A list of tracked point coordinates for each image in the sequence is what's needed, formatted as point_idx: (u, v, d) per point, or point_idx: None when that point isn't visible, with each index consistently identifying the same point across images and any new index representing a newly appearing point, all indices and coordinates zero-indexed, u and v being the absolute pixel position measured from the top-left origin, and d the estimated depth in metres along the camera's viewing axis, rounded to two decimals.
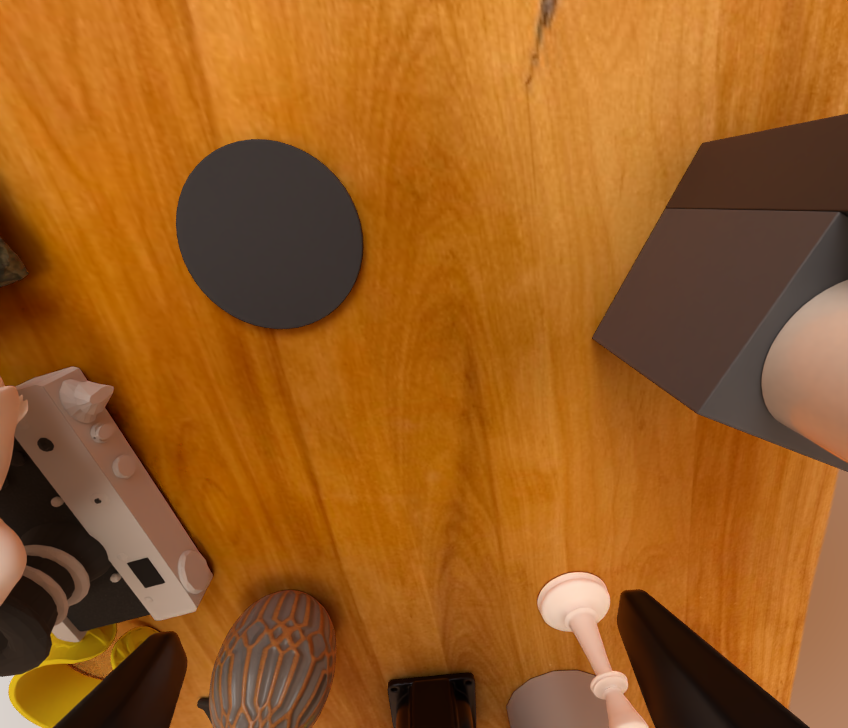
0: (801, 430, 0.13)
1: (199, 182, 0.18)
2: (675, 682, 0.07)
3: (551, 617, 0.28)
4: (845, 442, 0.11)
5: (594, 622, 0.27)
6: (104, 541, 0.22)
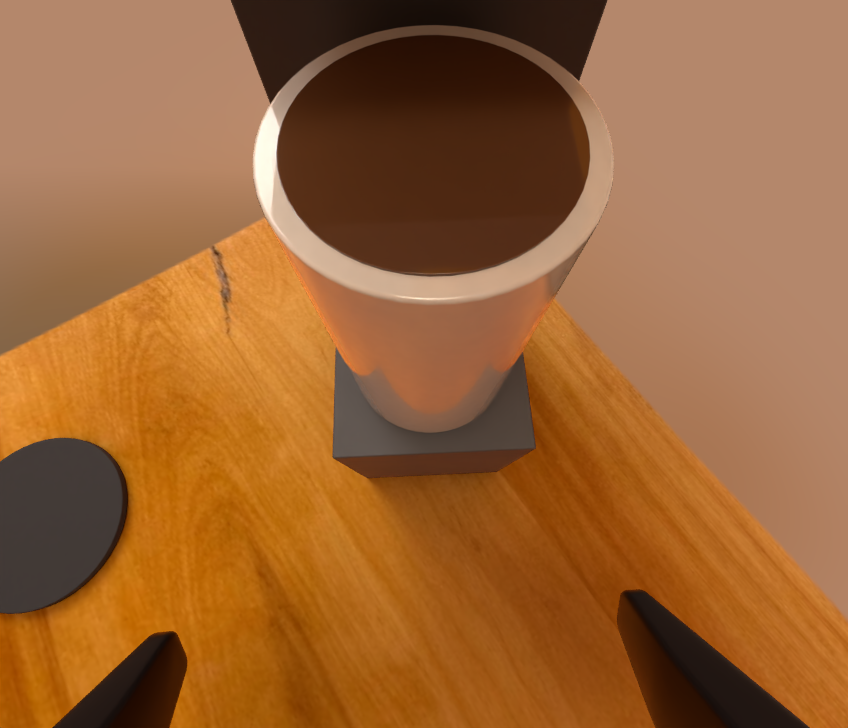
0: (396, 419, 0.13)
1: None
2: (675, 682, 0.07)
3: None
4: (371, 396, 0.12)
5: None
6: None
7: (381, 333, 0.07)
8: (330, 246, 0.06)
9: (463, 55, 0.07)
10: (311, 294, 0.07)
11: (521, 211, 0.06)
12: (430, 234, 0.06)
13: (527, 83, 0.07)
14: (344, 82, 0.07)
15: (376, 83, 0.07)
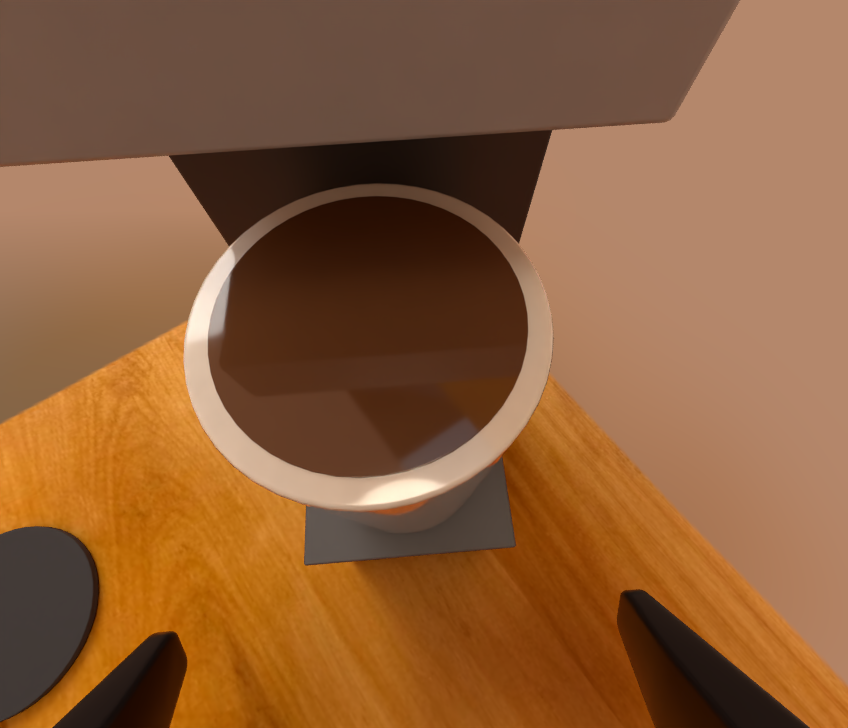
0: None
1: None
2: (675, 682, 0.07)
3: None
4: None
5: None
6: None
7: (322, 510, 0.06)
8: (258, 443, 0.06)
9: (402, 218, 0.07)
10: None
11: (457, 395, 0.06)
12: (362, 426, 0.06)
13: (466, 245, 0.07)
14: (283, 249, 0.07)
15: (314, 252, 0.07)
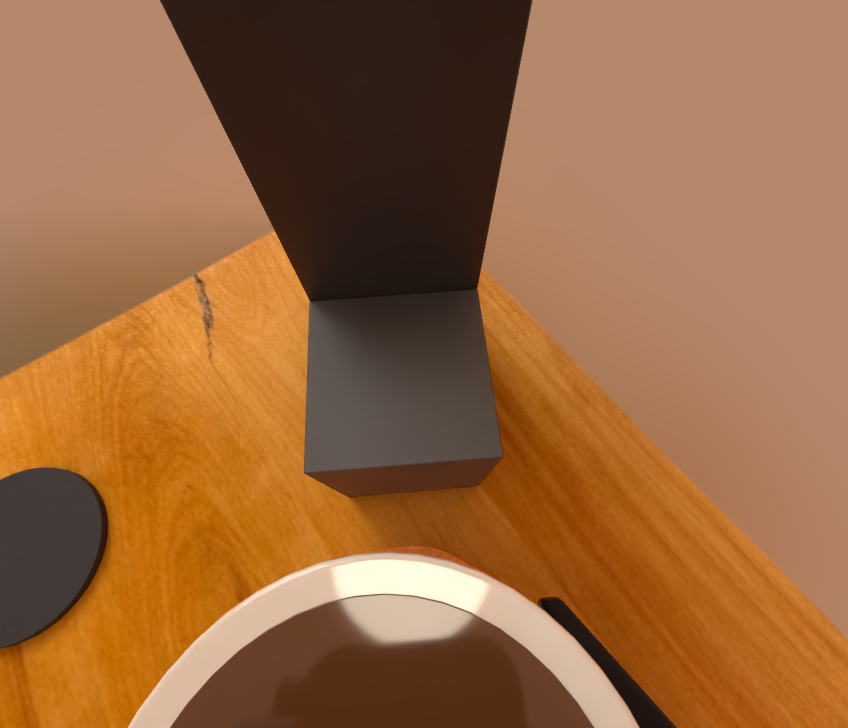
0: None
1: None
2: None
3: None
4: None
5: None
6: None
7: None
8: None
9: (430, 650, 0.04)
10: None
11: None
12: None
13: (540, 709, 0.04)
14: (229, 718, 0.04)
15: None
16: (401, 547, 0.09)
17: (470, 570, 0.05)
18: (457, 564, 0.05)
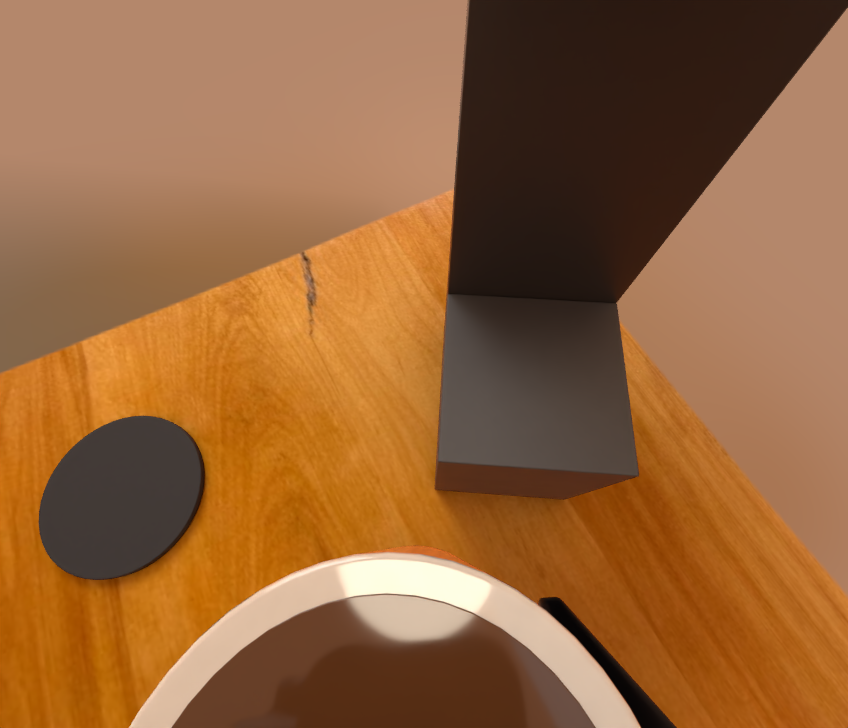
0: None
1: (68, 462, 0.23)
2: None
3: None
4: None
5: None
6: None
7: None
8: None
9: (431, 650, 0.04)
10: None
11: None
12: None
13: (542, 709, 0.04)
14: (230, 717, 0.04)
15: None
16: (402, 547, 0.09)
17: (471, 570, 0.05)
18: (458, 564, 0.05)
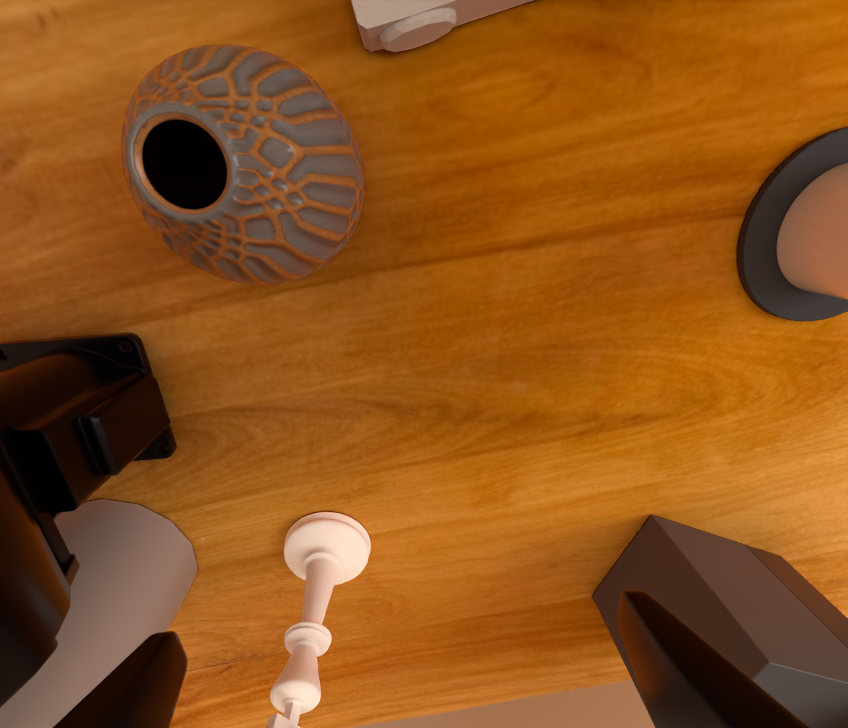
0: (811, 215, 0.17)
1: None
2: (675, 682, 0.07)
3: (313, 535, 0.23)
4: None
5: None
6: None
7: None
8: None
9: None
10: None
11: None
12: None
13: None
14: None
15: None
16: None
17: None
18: None
